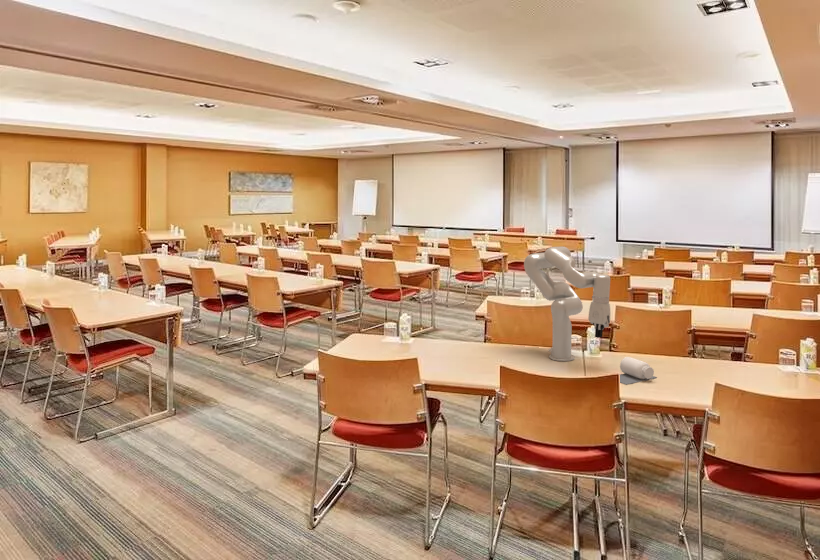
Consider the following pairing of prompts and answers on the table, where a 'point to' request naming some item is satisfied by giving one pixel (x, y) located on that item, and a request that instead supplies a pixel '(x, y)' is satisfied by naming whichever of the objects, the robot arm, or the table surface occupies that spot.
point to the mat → (631, 379)
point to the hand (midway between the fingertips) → (598, 337)
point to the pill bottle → (636, 368)
